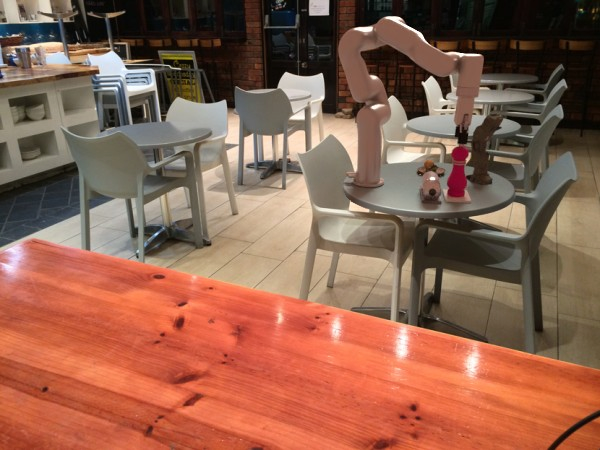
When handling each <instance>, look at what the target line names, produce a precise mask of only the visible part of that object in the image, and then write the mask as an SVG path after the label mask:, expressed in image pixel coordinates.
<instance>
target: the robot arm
mask: <svg viewBox="0 0 600 450" xmlns="http://www.w3.org/2000/svg"><path fill="white" fill-rule="evenodd" d="M386 45H388V46H389V47H392V48H393V49H395V50H397V51H398V52H400V53H401V54H404V55H406V56H407V57H408V58H409V59H410V60H412V61H413V63H415V64H416V65H418V66H419V67H420V68H422V69H424V70H425V71H428V72H429V73H431V74H433V75H435V76H437V77H441V78H445V77H448V76H452V75H455V74H456V75H457V82H456V89H455V97H457V100H456V106H455V111H454V118H453V122H454V124H455V129H454V131H455V132H454V137H455V138H457V142H456V143H457V144H464V145H467V144H468V141H469V140H468V139H469V134H470V133H469V129H470V126H471V125H472V120H473V114H474V113H473V112H474V106H475V98H478V97H479V94H480V87H481V82H482V81H481V80H482V74H483V68H484V67H483V66H484V59H485V58H484V55H482V54H480V53H478V54H477V53H460V52H456V51H448V52H443V51H442V50H440V49H438V48H436V47H434V46H433V45H431V44H429V43H428V42H427V40H426V39H425V38H424V35H423V34H422V33H421V32H420V31H417V30H416V29H414V28H412V27H410V26H408V25H407V24H406V22H405V20H404V19H403V18H401V17H399V16H393V15H392V16H384V17H382V18H381V19H379V20H378V21H377V23H375V24H372V25H368V26H358V27H353V28H350V29H349V30H347V31H346V32H345V33H343V35H342V36H341V38H340V40H339V44H338V47H337V48H338V50H337V51H338V57H339V60H340V63H341V66H342V69H343V71H344V75H345V78H346V81H347V85H348V89H349V90H350V93H351V97H352V99H353V100H354V101H355V102H357V103H362V104H363V103H365V105H364V106H363V107H362V108H360V110H359V111H358V112H357V115H356V120H355V121H356V122H355V123H356V129H357V159H356V160H357V166H356V167H357V168H356V171H353V172H351V171H346V174H345V175H346V177H347V178H349V179H353V180H352V182H353V184H354V185H355V186H358V187H362V188H376V187H380V186H383V185H384V183H385V180H384V178H383V177H381V173H382V154H383V153H382V151H383V150H382V146H383V136H382V129H381V127H382V126H383V125H385V124H387V123H388V122H389V121H390V119H391V117H392V108H391V105H390V102H389V101H390V100H389V99H388V94H387V92H386V89H385V86H384V83H383V82H382V80H381V79H380V78H379V77H378V76H376V75H373V74H369V71H368V68H367V64H366V62H365V60H364V58H363V57H362V55H361V52H365V51H371V50H374V49H377V48H379V47H383V46H386Z"/></svg>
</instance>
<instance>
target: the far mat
mask: <svg viewBox="0 0 600 450" xmlns="http://www.w3.org/2000/svg"><path fill="white" fill-rule="evenodd" d="M448 189H449V188H448ZM448 189H447V188H446V189H445V188H443V189H442V194H443V198H444V202H445V203H460V204H461V203H466V204H472V199H471V197H470V194H469V192H468V189H464V190H465V195H464V196H463V197H451V196H449V195H447V191H448Z"/></svg>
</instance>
